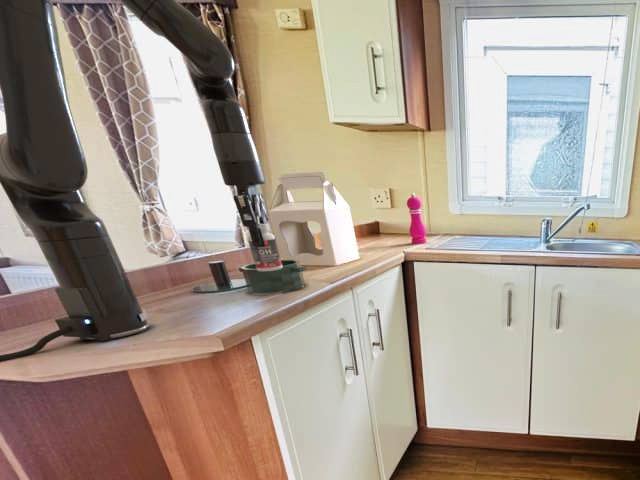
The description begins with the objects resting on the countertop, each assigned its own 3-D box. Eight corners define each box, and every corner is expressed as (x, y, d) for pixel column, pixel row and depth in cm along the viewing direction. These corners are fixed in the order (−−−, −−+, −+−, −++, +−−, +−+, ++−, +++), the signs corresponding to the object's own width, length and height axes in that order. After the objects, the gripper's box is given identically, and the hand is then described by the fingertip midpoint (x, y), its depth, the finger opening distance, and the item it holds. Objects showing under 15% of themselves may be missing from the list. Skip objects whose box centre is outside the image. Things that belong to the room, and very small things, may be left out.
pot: (290, 295, 102) (283, 269, 100) (228, 294, 107) (219, 269, 104) (324, 283, 114) (318, 259, 111) (267, 282, 118) (260, 259, 115)
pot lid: (224, 296, 105) (214, 267, 102) (180, 294, 109) (169, 266, 106) (267, 283, 118) (259, 257, 115) (225, 282, 121) (217, 257, 118)
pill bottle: (266, 272, 93) (252, 225, 89) (252, 271, 96) (238, 225, 91) (288, 268, 97) (276, 223, 93) (274, 266, 100) (261, 223, 96)
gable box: (282, 265, 145) (257, 174, 133) (309, 258, 156) (288, 174, 144) (336, 266, 139) (316, 171, 127) (360, 259, 150) (343, 171, 138)
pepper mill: (430, 242, 184) (424, 192, 175) (414, 244, 180) (407, 193, 172) (423, 241, 189) (417, 192, 181) (408, 243, 186) (401, 193, 177)
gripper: (228, 162, 92) (253, 242, 99) (205, 158, 80) (235, 250, 87) (266, 160, 94) (287, 240, 101) (249, 157, 81) (274, 247, 89)
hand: (263, 244), depth 94 cm, fingers closed on pill bottle, 5 cm apart
